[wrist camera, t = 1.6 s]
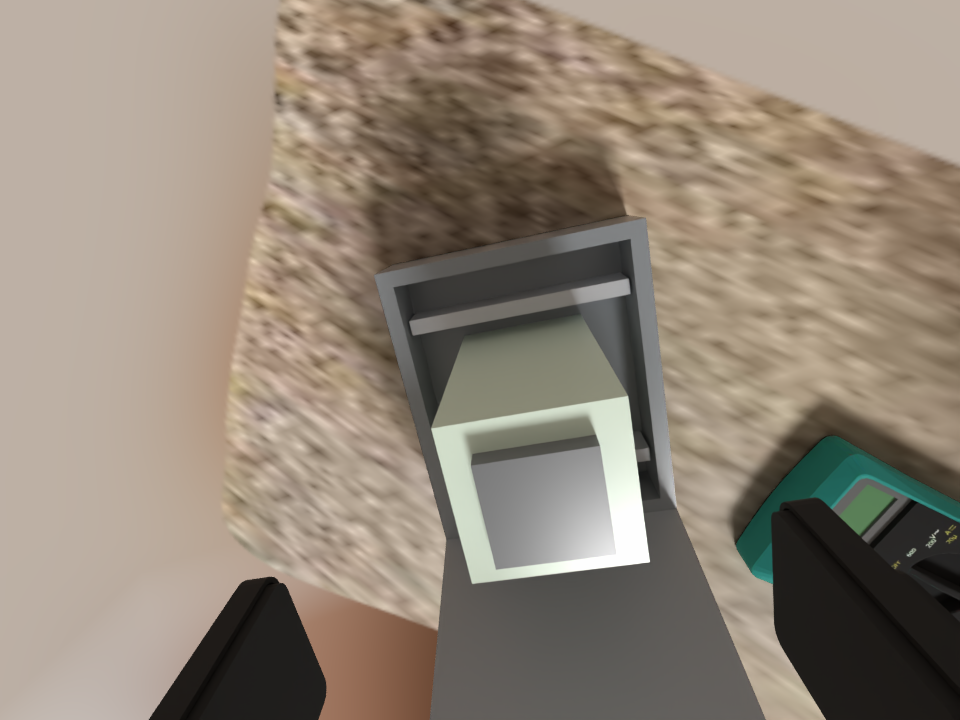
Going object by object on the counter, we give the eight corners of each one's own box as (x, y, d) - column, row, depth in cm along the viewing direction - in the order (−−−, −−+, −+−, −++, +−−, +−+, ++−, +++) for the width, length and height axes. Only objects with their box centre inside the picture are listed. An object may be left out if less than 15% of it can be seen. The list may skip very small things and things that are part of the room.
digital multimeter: (961, 651, 26) (1015, 705, 23) (723, 539, 25) (750, 582, 22) (1073, 552, 24) (1147, 598, 21) (817, 423, 23) (859, 455, 20)
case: (627, 215, 20) (645, 217, 17) (657, 471, 23) (676, 508, 21) (392, 264, 21) (373, 274, 18) (454, 500, 25) (446, 539, 22)
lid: (862, 950, 10) (854, 963, 11) (676, 508, 21) (677, 526, 21) (408, 960, 12) (421, 971, 12) (446, 539, 22) (452, 556, 22)
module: (580, 313, 20) (633, 405, 11) (597, 421, 22) (655, 578, 13) (464, 335, 21) (427, 439, 12) (488, 438, 23) (470, 600, 14)
